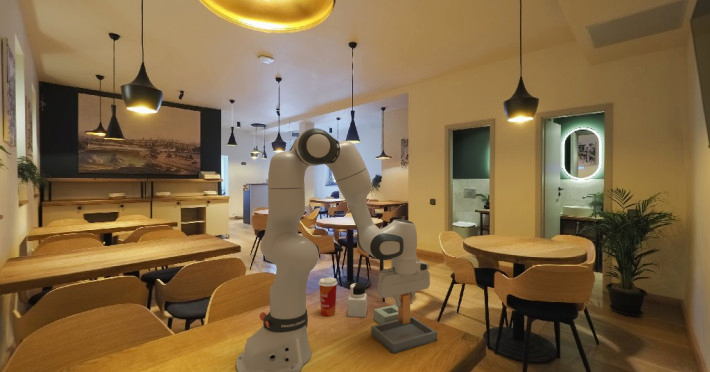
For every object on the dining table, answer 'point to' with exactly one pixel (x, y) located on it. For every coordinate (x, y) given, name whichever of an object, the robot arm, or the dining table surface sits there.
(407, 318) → the pin
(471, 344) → the dining table surface
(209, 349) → the dining table surface
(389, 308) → the socket block
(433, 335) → the tray
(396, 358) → the dining table surface
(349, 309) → the medicine bottle
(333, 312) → the paper cup
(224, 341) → the dining table surface
